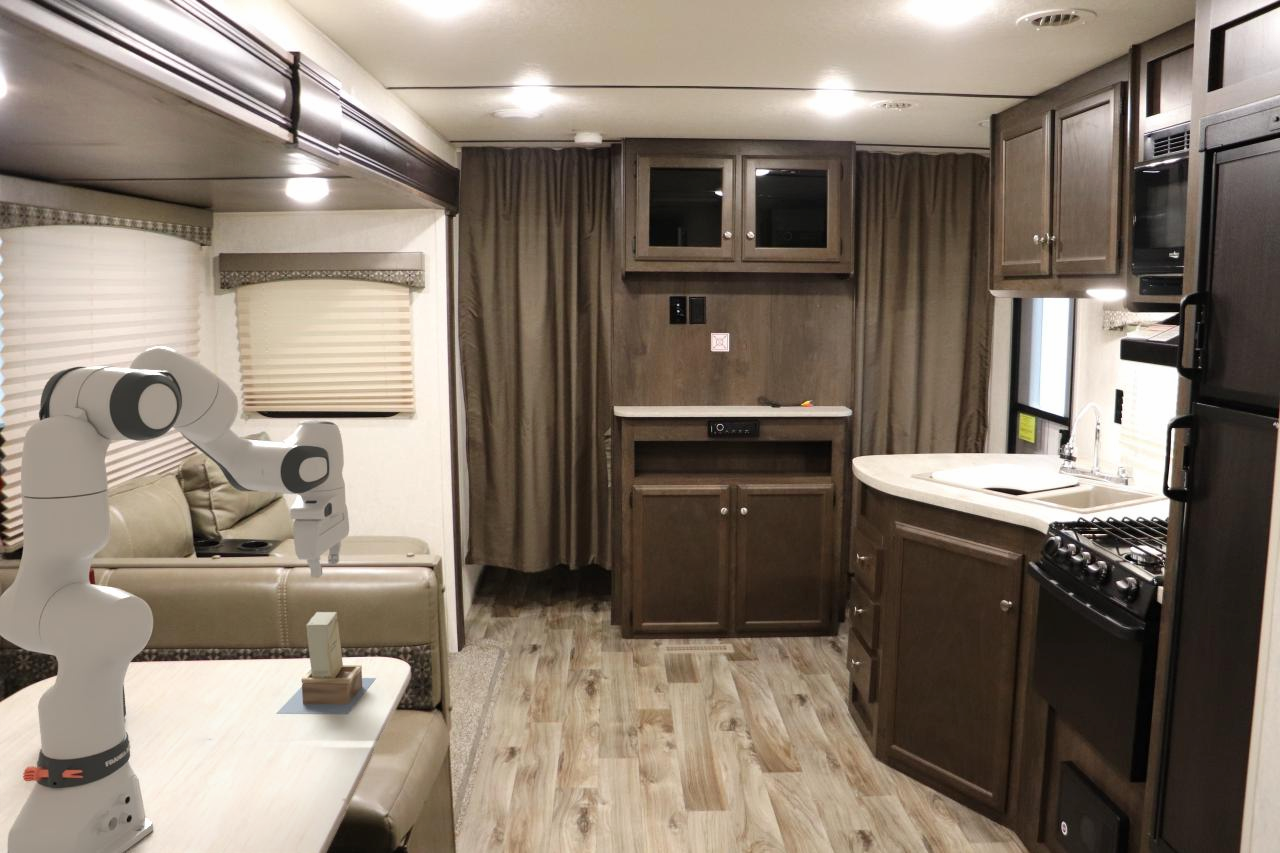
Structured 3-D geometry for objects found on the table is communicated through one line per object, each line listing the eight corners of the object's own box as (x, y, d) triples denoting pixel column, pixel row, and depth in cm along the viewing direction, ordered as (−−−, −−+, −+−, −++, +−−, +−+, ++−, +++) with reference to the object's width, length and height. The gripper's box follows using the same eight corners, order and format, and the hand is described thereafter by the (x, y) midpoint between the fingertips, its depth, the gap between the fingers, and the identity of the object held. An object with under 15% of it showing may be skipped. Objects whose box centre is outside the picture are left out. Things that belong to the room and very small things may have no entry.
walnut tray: (349, 704, 197) (348, 681, 196) (301, 703, 198) (300, 680, 197) (363, 686, 206) (362, 664, 205) (317, 685, 206) (316, 663, 206)
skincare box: (333, 681, 198) (327, 625, 195) (311, 681, 199) (304, 625, 195) (343, 665, 205) (338, 611, 201) (322, 665, 205) (316, 611, 201)
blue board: (348, 718, 193) (347, 714, 193) (276, 718, 193) (276, 713, 193) (376, 682, 211) (376, 678, 210) (310, 681, 211) (310, 677, 211)
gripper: (325, 490, 207) (328, 556, 209) (286, 512, 186) (290, 584, 188) (355, 491, 206) (358, 556, 208) (319, 512, 186) (323, 584, 188)
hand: (325, 569), depth 198 cm, fingers open, 8 cm apart
